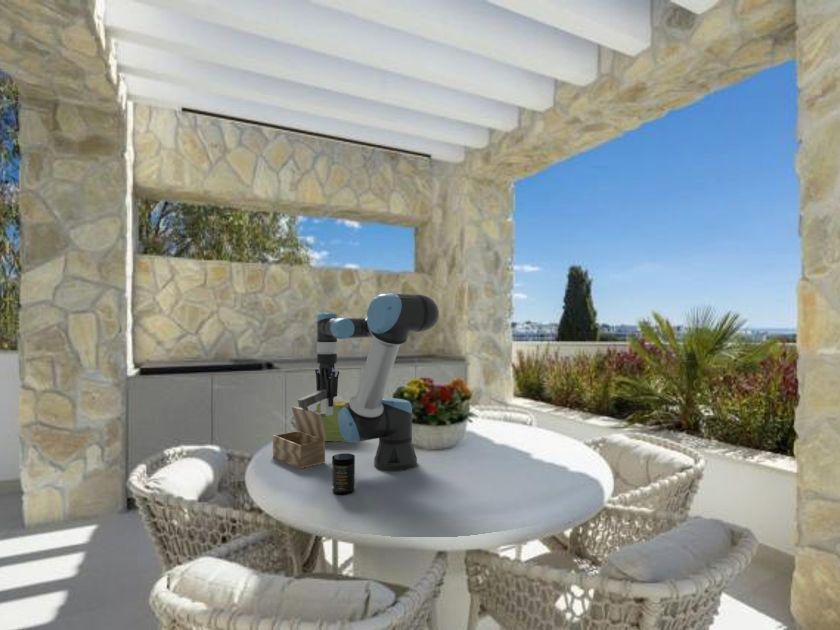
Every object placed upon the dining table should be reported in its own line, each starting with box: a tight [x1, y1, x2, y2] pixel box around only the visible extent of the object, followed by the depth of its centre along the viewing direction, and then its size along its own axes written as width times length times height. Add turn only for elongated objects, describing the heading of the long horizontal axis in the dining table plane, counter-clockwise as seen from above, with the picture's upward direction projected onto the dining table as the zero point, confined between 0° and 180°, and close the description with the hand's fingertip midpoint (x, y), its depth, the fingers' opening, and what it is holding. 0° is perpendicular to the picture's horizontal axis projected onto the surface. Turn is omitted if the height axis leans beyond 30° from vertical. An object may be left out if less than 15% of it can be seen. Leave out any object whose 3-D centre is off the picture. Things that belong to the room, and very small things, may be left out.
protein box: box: [316, 400, 350, 443], centre depth 203 cm, size 10×15×16 cm
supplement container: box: [331, 452, 356, 496], centre depth 141 cm, size 7×7×10 cm
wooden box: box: [272, 430, 326, 470], centre depth 173 cm, size 20×10×8 cm, turn 43°
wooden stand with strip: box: [291, 389, 327, 440], centre depth 178 cm, size 20×14×11 cm
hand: (326, 414), depth 181 cm, fingers closed on wooden stand with strip, 3 cm apart
